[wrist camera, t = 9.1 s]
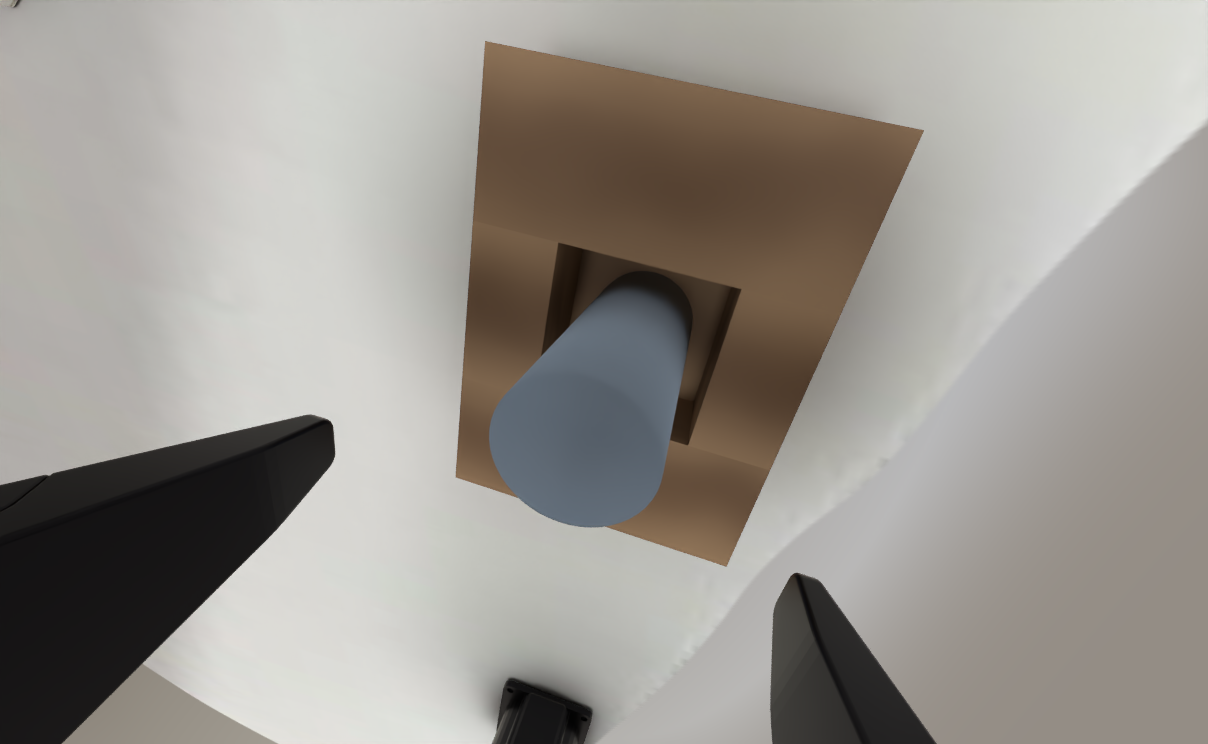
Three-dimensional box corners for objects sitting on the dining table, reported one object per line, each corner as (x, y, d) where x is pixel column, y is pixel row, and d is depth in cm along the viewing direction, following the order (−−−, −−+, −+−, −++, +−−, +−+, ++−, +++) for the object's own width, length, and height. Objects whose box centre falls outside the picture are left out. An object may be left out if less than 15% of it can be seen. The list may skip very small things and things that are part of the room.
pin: (677, 375, 20) (639, 549, 11) (588, 350, 20) (482, 495, 11) (705, 285, 18) (686, 404, 9) (606, 259, 18) (498, 349, 10)
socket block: (726, 495, 23) (726, 566, 19) (499, 425, 24) (455, 477, 20) (873, 138, 16) (923, 130, 12) (540, 68, 17) (485, 41, 13)
